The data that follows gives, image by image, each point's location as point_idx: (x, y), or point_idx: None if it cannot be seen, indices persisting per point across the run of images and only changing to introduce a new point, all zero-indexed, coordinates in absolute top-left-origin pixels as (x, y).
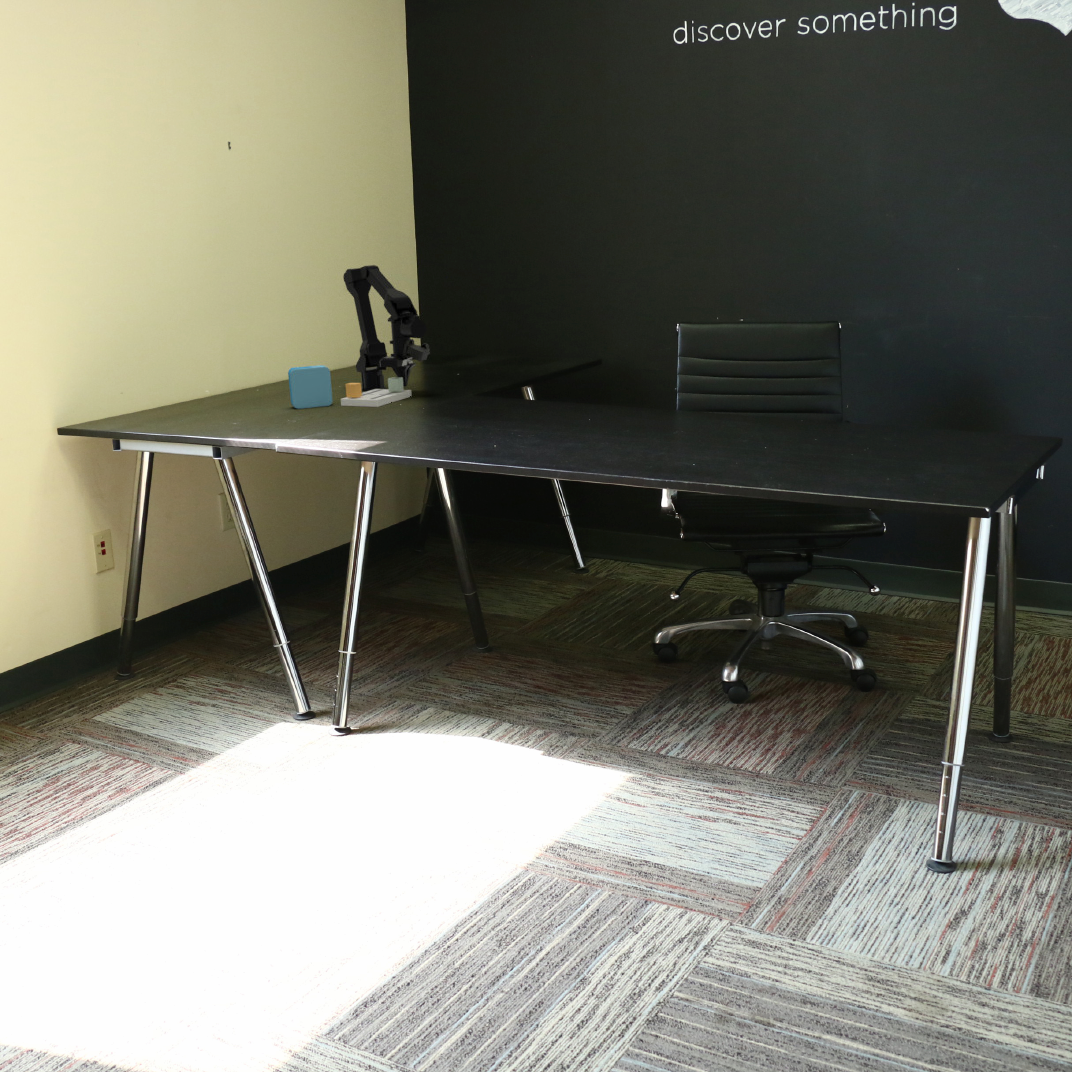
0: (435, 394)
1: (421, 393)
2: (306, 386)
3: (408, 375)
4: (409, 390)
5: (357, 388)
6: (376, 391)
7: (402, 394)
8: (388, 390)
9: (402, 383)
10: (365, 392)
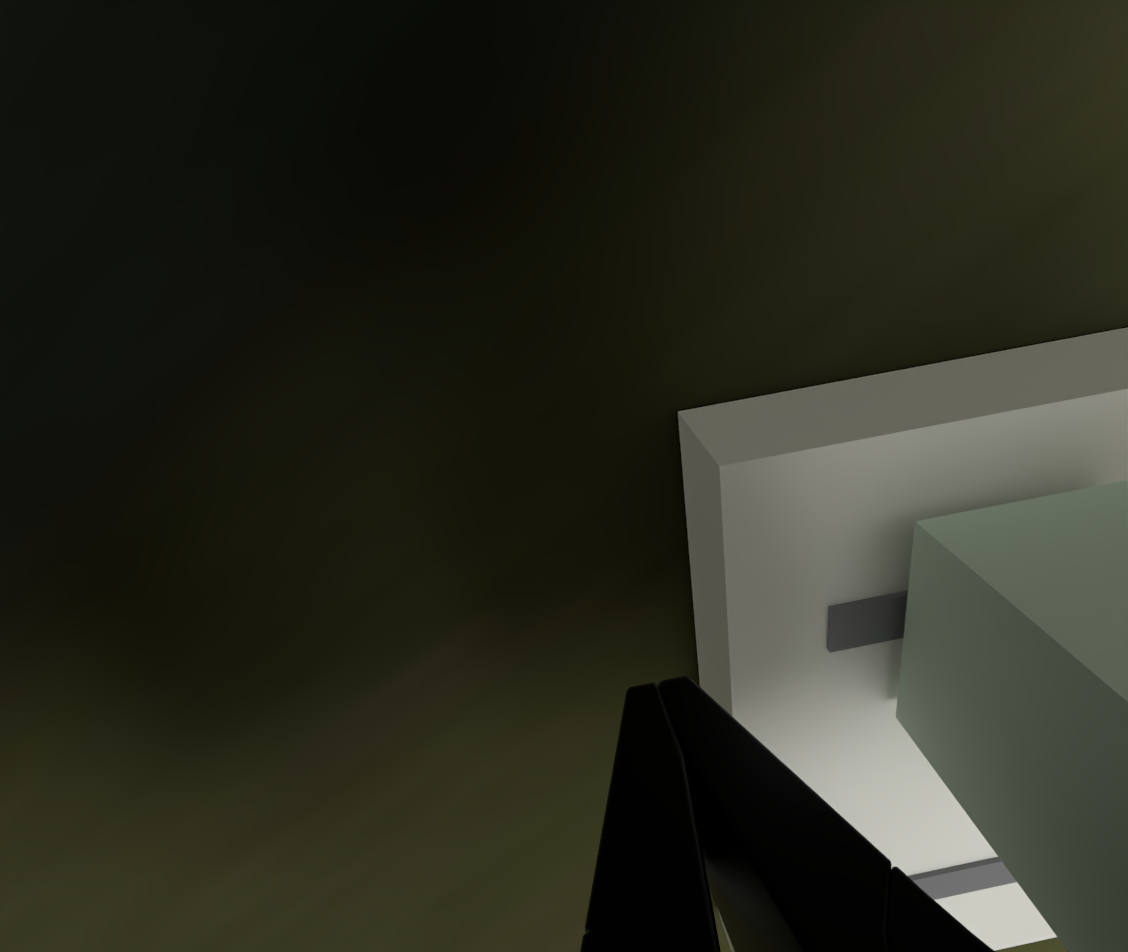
0: (204, 13)
1: (283, 476)
2: None
3: (654, 928)
4: (793, 452)
5: None
6: (995, 860)
7: (1079, 378)
8: (858, 796)
9: (1067, 619)
10: None
